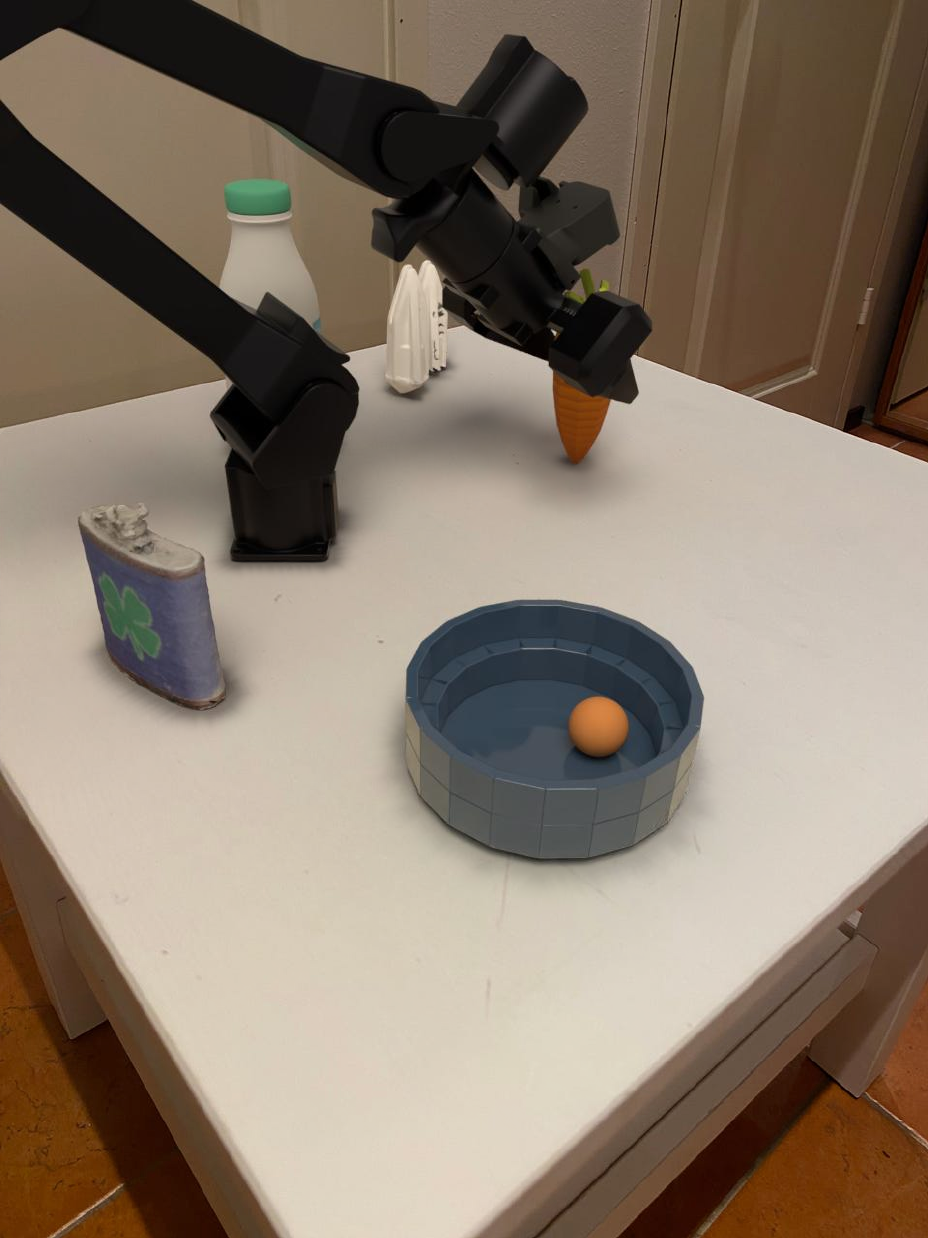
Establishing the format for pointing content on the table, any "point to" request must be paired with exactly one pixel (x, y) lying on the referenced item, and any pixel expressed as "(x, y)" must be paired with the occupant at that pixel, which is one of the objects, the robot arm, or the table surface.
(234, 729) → the table surface
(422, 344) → the shaker set
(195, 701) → the flask
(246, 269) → the milk bottle
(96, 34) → the robot arm
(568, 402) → the carrot
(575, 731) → the ball
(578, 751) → the bowl
